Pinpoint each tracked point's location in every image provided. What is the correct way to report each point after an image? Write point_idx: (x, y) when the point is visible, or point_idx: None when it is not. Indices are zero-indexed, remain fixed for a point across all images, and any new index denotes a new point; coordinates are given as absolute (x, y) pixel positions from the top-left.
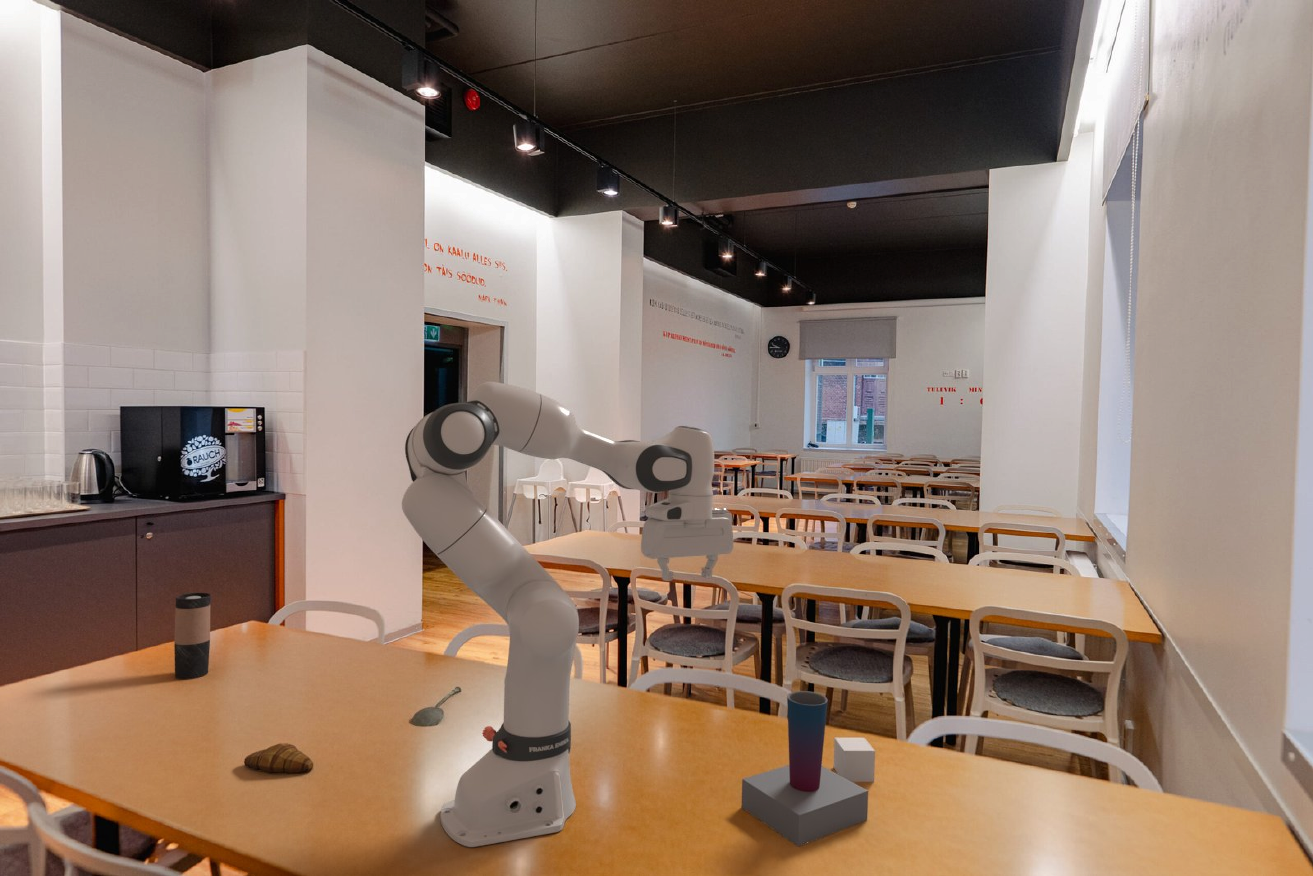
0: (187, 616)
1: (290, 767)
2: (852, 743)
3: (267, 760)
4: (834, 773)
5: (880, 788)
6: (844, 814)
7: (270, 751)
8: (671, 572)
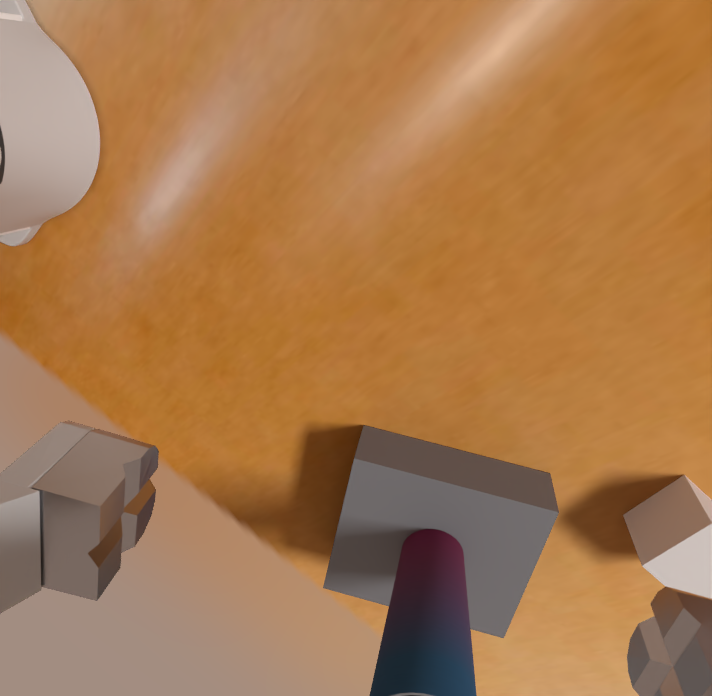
0: None
1: None
2: (702, 565)
3: None
4: (527, 574)
5: (647, 573)
6: None
7: None
8: (71, 589)
